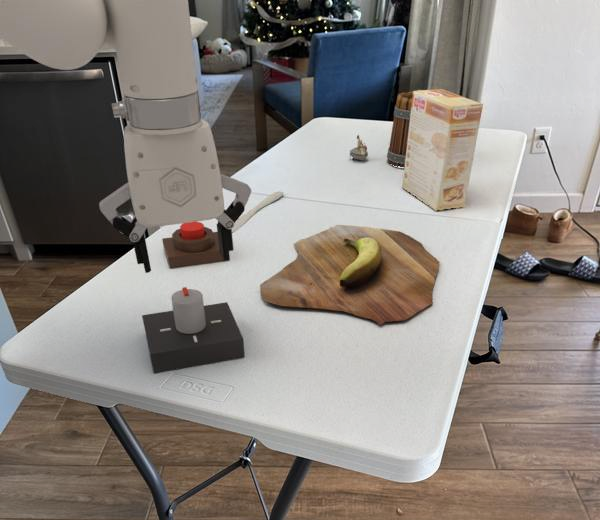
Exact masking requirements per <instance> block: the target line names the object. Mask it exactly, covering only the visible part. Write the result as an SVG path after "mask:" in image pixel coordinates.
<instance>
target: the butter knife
mask: <svg viewBox="0 0 600 520" xmlns="http://www.w3.org/2000/svg"><path fill="white" fill-rule="evenodd" d="M283 196H284V192H283V191H275V192H273V193H271V194H270V195H268V196H267V197H266V198H264V199H263V200H261V202H259V203H258V204H257V205H256V206H254V207H253V208H251V209H250V210H249V211H247V212H246V213H245V214H242V215H241V216H240V217H239V218H238V219H237V221H236V222H235V223H234V227H233V228H232V233H234V232H235V231H237V230H239V229H240V228H241V227H242V226H243V225H245V224H246V223H247V222H248V221H249V220H250V219H251V217H253V215H255V214H256V213H257V212H258V211H259V210H261V209H263V208H264V207H266V206H268V205H270V204H272V203H274V202H275V201H277V200H278V199H280V198H282V197H283Z"/></svg>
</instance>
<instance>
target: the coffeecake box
mask: <svg viewBox="0 0 600 520" xmlns="http://www.w3.org/2000/svg"><path fill="white" fill-rule="evenodd" d="M420 90H421V91H417V90H413V91H412V92H413V96H412V105H411V114H410V123H409V132H408V141H407V150H406V159H405V167H404V169H403V175H402V176H403V177H402V186H401V188H402V189H403V188H404V189H405V190H404V189H403V190H404V191H406V190H407V191H406V192H407V193H409V192H410V193H411V194H410V193H409V194H410V195H411V196H413V195H414V196H413V197H415V196H416V197H417V198H416V197H415V198H416V199H418V200H420V201H421V202H422V201H423V202H422V203H423V204H425V205H426V206H428V205H429V206H428V207H429V208H431V209H432V210H436V211H435V212H438V211H437V210H440V211H445V210H444V209H448V210H452V209H451V208H456V209H460V208H459V207H463V208H465V206H466V200H467V194H468V189H469V183H470V178H471V173H472V168H473V161H474V157H475V151H476V145H477V140H478V134H479V129H480V123H481V118H482V113H483V107H484V104H483V103H481V102H479V101H476V100H473V99H470V98H467V97H465V96H462V95H459V94H457V93H454V92H451V91H448V90H446V89H442V88H436V89H435V88H433V89H431V88H430V89H420Z"/></svg>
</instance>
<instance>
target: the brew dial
mask: <svg viewBox="0 0 600 520" xmlns="http://www.w3.org/2000/svg"><path fill="white" fill-rule="evenodd" d="M170 300H171V306H172V311H173V312H174V318H175V325H176V329H177V330H178V331H179V332H181V333H185V334H193V333H197V332H200V331H202V330H203V329H204V328H205V327H206V320H205V312H204V306H205V304H204V297H203V293H202V292H201V291H199V289H194V288H188V287H187V286H185V287H184V286H183V287H181V289H180V290H177V291H176V292H174V293H172V295H171V299H170Z"/></svg>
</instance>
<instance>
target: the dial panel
mask: <svg viewBox="0 0 600 520" xmlns="http://www.w3.org/2000/svg"><path fill="white" fill-rule="evenodd" d="M204 312H205V320H206V327H205V328H204V329H203V330H202V331H200V332H197V333H193V334H185V333H181V332H179V331H178V330H177V329H176V325H175V318H174V312H173V310H168V311H161V312H154V313H149V314H143V315H141V318H142V322H143V323H142V324H143V329H144V333H145V337H146V343H147V347H148V352H149V353H148V354H149V358H150V363H151V367H152V372H153V374H156V373H157V374H158V373H163V372H168V371H169V372H170V371H174V370H180V369H185V368H191V367H197V366H202V365H207V364H215V363H220V362H224V361H229V360H237V359H242V358H245V344H244V337H243V335H242V333H241V330H240V328H239V325H238V323H237V322H236V321H237V320H236V319H235V317H234V314H233V312H232V310H231V308H230V305H229V303H228V302H227V301H226V302H218V303H213V304H206V305H205V304H204Z"/></svg>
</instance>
